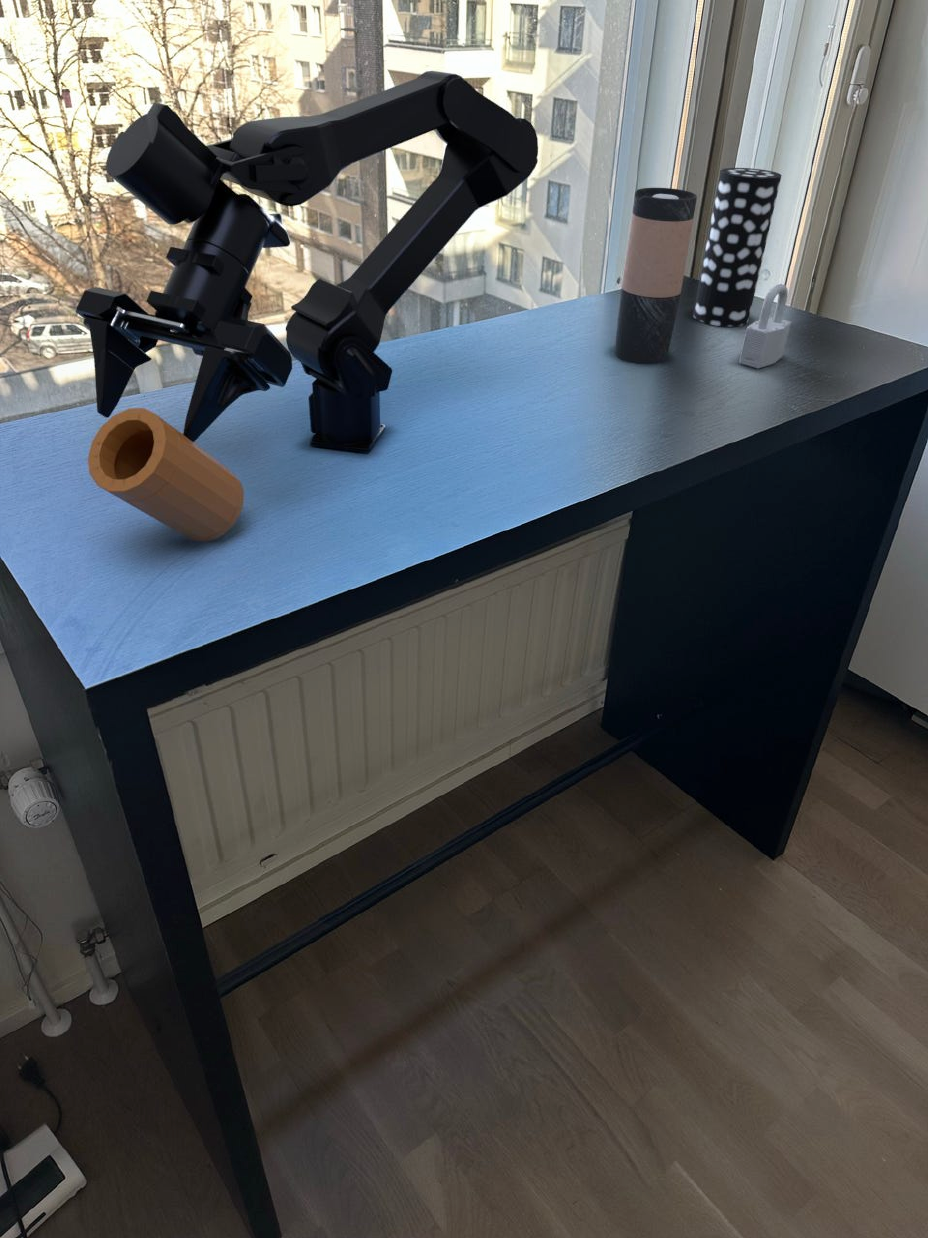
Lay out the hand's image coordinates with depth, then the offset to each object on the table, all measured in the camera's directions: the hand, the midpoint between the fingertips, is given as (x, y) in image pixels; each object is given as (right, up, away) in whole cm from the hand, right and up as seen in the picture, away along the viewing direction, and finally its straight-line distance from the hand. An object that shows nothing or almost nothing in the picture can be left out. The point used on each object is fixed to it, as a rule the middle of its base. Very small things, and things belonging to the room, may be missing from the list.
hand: (144, 427), depth 71 cm
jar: (+4, -6, +3) cm, 8 cm away
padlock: (+67, +19, +46) cm, 83 cm away
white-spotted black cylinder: (+66, +30, +61) cm, 94 cm away
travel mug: (+50, +20, +46) cm, 71 cm away
